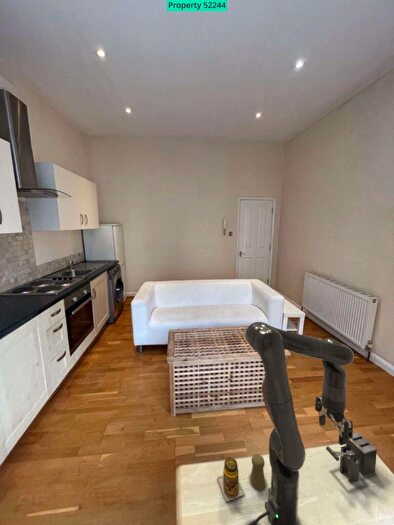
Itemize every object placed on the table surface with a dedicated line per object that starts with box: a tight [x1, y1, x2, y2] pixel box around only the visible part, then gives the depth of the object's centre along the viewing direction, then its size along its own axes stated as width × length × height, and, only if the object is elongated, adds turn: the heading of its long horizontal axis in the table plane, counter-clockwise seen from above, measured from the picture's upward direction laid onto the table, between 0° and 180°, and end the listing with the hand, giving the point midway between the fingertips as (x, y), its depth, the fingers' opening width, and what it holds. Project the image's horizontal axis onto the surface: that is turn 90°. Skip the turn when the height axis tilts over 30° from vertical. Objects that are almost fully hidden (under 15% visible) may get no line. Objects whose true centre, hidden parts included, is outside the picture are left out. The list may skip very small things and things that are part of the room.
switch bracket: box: [339, 444, 360, 485], centre depth 91 cm, size 10×8×13 cm
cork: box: [249, 453, 266, 490], centre depth 91 cm, size 6×6×11 cm
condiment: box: [217, 456, 244, 502], centre depth 89 cm, size 7×8×12 cm
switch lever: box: [325, 445, 354, 462], centre depth 90 cm, size 12×5×2 cm, turn 103°
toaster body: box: [345, 431, 378, 477], centre depth 96 cm, size 7×8×12 cm
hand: (331, 433), depth 82 cm, fingers open, 8 cm apart
